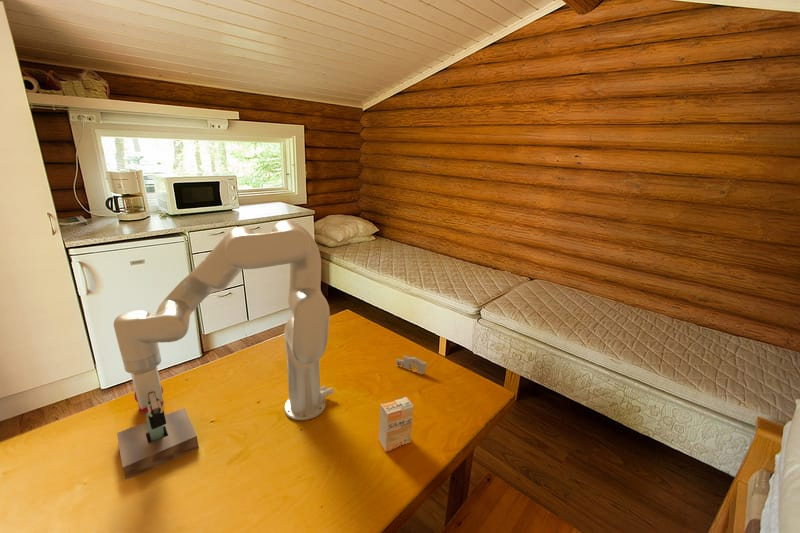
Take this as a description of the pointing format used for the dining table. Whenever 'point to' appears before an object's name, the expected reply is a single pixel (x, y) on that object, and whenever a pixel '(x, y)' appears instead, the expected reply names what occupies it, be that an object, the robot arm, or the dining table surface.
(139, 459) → the walnut hole block
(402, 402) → the supplement box
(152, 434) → the teal peg
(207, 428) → the dining table surface
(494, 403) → the dining table surface
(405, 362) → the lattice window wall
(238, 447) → the dining table surface
